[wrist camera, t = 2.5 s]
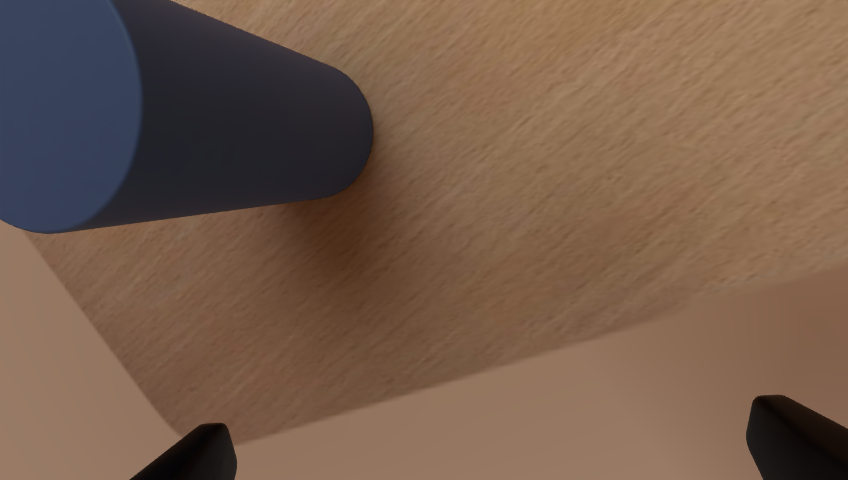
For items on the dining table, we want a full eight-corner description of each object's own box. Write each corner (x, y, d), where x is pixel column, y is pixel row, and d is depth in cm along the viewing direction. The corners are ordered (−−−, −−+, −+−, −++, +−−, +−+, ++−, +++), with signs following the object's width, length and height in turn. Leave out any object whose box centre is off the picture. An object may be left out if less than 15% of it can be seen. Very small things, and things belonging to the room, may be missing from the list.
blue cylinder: (388, 179, 21) (176, 196, 10) (272, 212, 23) (-24, 259, 12) (352, 43, 21) (88, -102, 10) (237, 87, 23) (-106, 7, 11)
